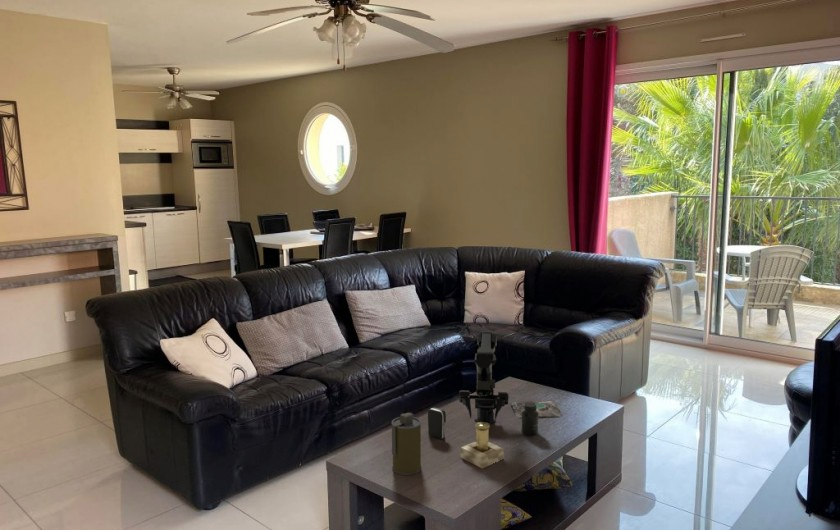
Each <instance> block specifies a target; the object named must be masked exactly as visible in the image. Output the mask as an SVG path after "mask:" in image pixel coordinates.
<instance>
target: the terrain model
mask: <svg viewBox="0 0 840 530" xmlns="http://www.w3.org/2000/svg"><path fill="white" fill-rule="evenodd" d="M525 403H534V404H536V406H537V407H536V408H537V410H536V411H537V412H538V413H539V417H553V418H561V417H563V413H562V412H561V410H560V409H559V407H558V405H557V403H556V401H555V400H554V401H551V400H550V401H549V400H548V401H533V400H528V401H526V400H525V401H523V400H522V401H517V402H516V401H515V402H511V403H509V405H511V406H510V407H511V409H512V411H513V413H514V415H516V416H517V417H520V418H519V419H521V416H522V411H523V410H524V404H525ZM516 416H515V417H516ZM560 416H561V417H560ZM517 417H516V418H517Z"/></svg>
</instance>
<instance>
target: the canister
mask: <svg viewBox="0 0 840 530" xmlns="http://www.w3.org/2000/svg"><path fill="white" fill-rule="evenodd" d="M421 426H422V420H421V419H419V417H415V414H414V413H412V412H406V413H401V414H400V416H398V417H396V418H394V419H392V420H391V454H392V467H391V468H392V469H391V470H392V471H393V472H394V473H395V474H398V475H402V476H411V475H415V474H418V473H420V471H421V470H422V464H421V463H422V459H421V457H422V452H421V450H422V449H421V446H422V445H421V444H422V443H421V441H422V440H421V438H422V437H421V436H422V435H421V431H422V430H421V428H422V427H421Z"/></svg>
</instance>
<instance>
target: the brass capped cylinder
mask: <svg viewBox="0 0 840 530" xmlns="http://www.w3.org/2000/svg"><path fill="white" fill-rule="evenodd" d="M490 424H491V423H490ZM490 424H489V423H486V422H476V423H475V425H474V426H475V429H476V432H475V433H476V435H475V436H476V437H475V439H476V441H475V442H476V450H478V451H480V452H482V453H483V452H486V451H488V442H489V433H490V431H489V429H490V428H491V427H490Z"/></svg>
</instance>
